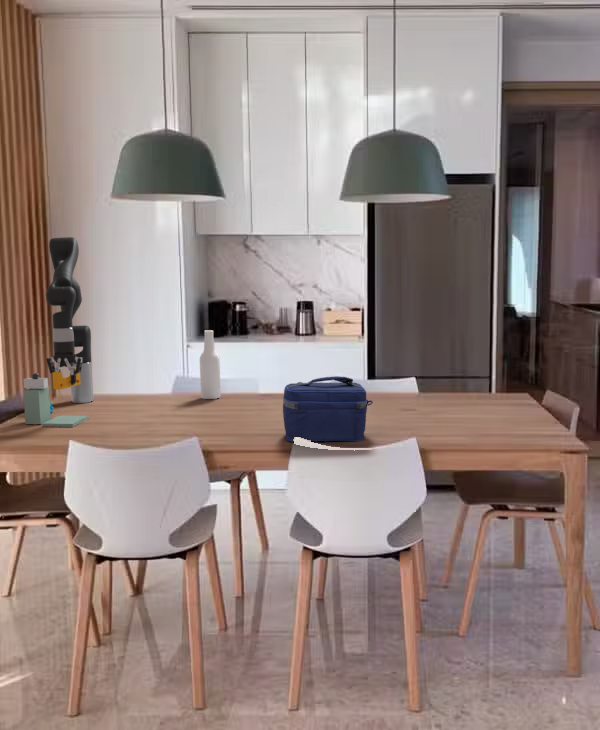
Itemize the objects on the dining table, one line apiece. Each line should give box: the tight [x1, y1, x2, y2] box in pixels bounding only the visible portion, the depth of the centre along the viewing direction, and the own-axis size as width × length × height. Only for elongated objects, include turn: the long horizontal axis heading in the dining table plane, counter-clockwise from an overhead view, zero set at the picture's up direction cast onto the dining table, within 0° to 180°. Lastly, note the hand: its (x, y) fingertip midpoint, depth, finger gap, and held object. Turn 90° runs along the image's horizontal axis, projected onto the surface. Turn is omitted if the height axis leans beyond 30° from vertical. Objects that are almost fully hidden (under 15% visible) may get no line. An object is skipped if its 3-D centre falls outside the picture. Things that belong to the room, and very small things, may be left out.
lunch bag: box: [282, 376, 374, 443], centre depth 275 cm, size 31×21×20 cm
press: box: [23, 386, 89, 428], centre depth 305 cm, size 15×20×13 cm
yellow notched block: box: [52, 368, 81, 391], centre depth 303 cm, size 12×4×6 cm, turn 155°
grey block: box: [23, 372, 49, 389], centre depth 305 cm, size 4×8×5 cm, turn 83°
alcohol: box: [199, 329, 222, 400], centre depth 351 cm, size 9×9×30 cm
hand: (66, 384), depth 304 cm, fingers closed on yellow notched block, 5 cm apart
